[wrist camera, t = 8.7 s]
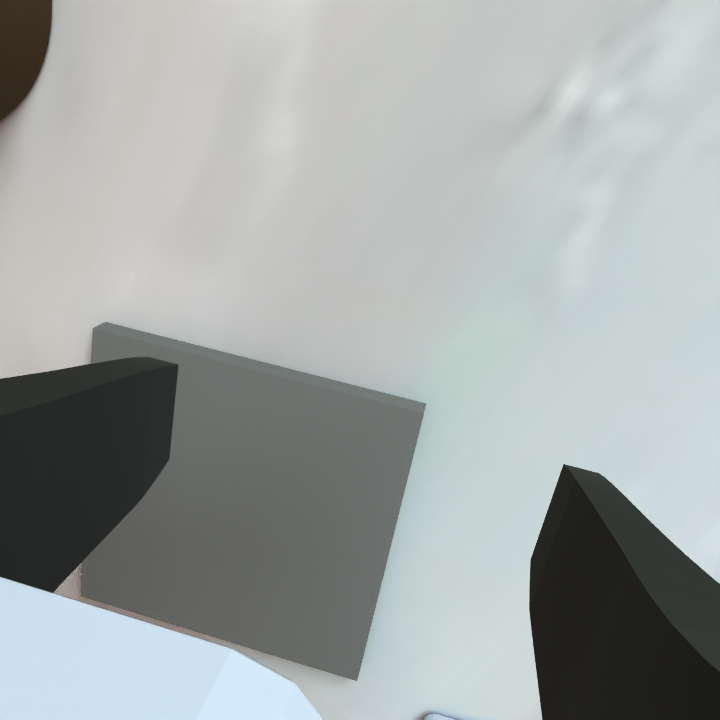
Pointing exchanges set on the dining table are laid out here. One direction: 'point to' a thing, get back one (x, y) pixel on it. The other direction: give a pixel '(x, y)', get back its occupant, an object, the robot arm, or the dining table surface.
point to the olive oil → (21, 47)
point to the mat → (261, 506)
